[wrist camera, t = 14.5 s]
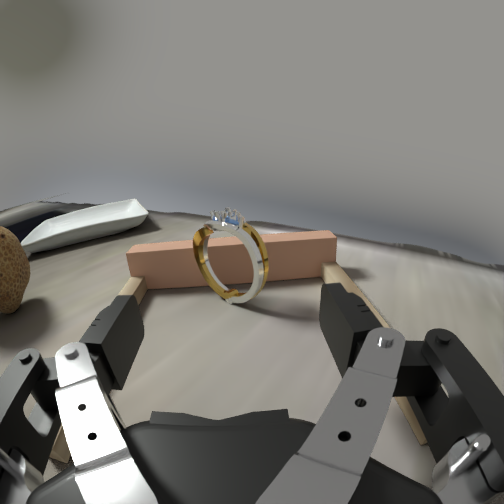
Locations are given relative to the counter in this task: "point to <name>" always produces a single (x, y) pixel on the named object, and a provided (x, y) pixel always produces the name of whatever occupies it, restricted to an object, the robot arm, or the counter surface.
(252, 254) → the ring
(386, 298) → the counter surface
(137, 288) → the birch track
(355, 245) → the counter surface
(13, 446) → the robot arm
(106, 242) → the counter surface
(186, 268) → the bar
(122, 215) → the square plate
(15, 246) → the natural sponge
